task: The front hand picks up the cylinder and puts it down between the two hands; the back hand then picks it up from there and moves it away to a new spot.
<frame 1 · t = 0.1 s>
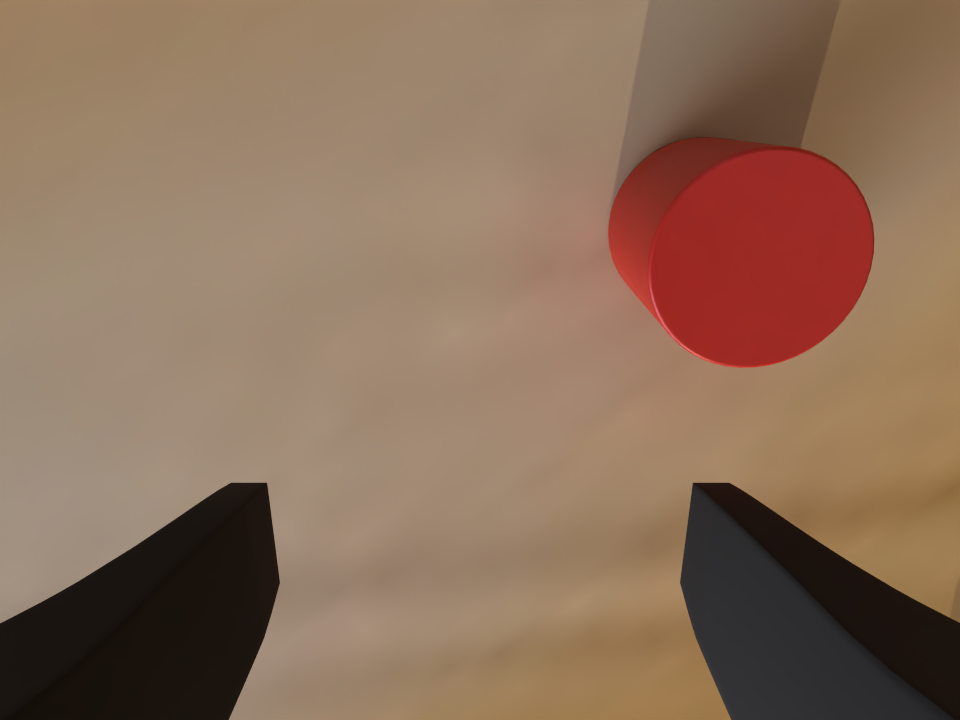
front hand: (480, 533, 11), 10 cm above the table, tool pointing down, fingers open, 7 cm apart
cylinder: (693, 226, 19), on the table
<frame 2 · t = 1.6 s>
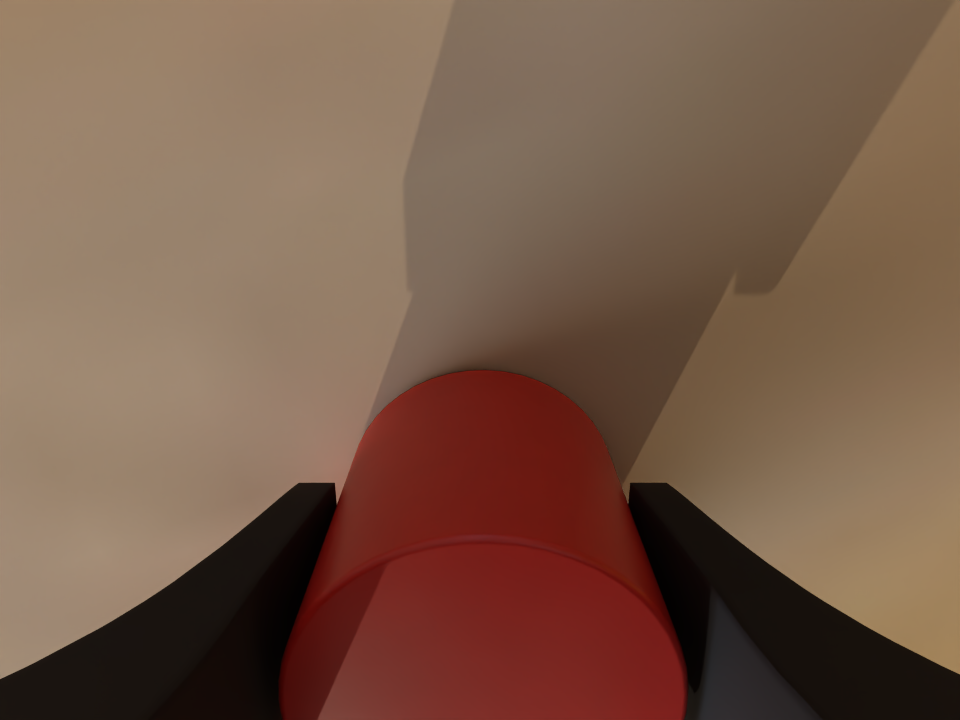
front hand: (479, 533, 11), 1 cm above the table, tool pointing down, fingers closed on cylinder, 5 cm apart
cylinder: (482, 489, 13), on the table, touching front hand
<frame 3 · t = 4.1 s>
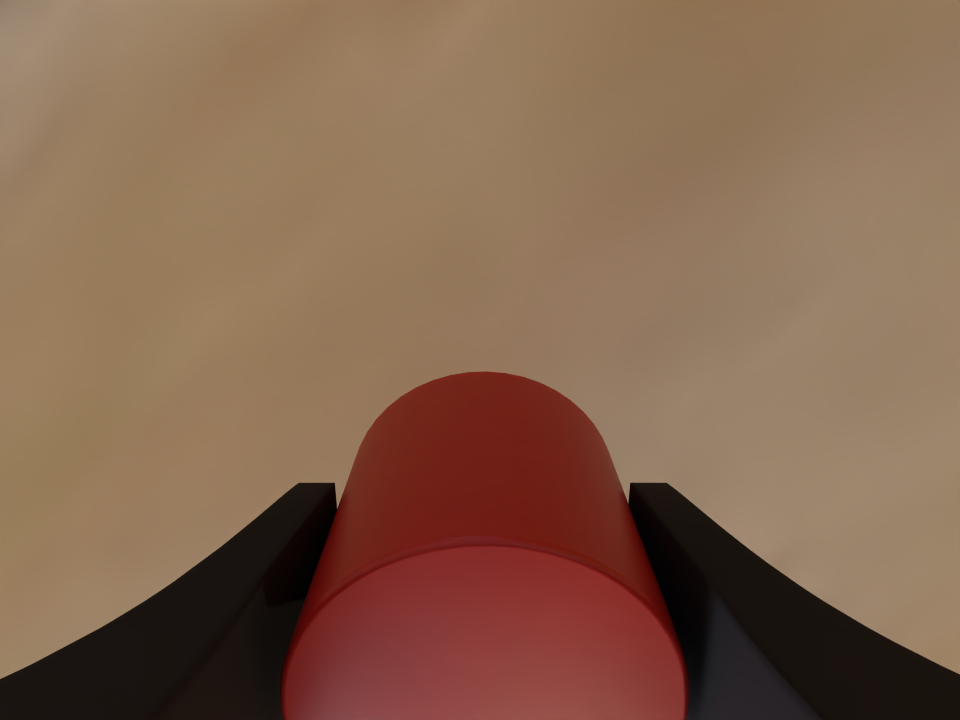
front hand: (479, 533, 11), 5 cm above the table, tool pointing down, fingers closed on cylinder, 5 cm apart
cylinder: (483, 490, 13), point 4 cm above the table, touching front hand
when the front hand's fingers open (2 cm above the table, at t = 6.9 s): cylinder stays where it is, on the table.
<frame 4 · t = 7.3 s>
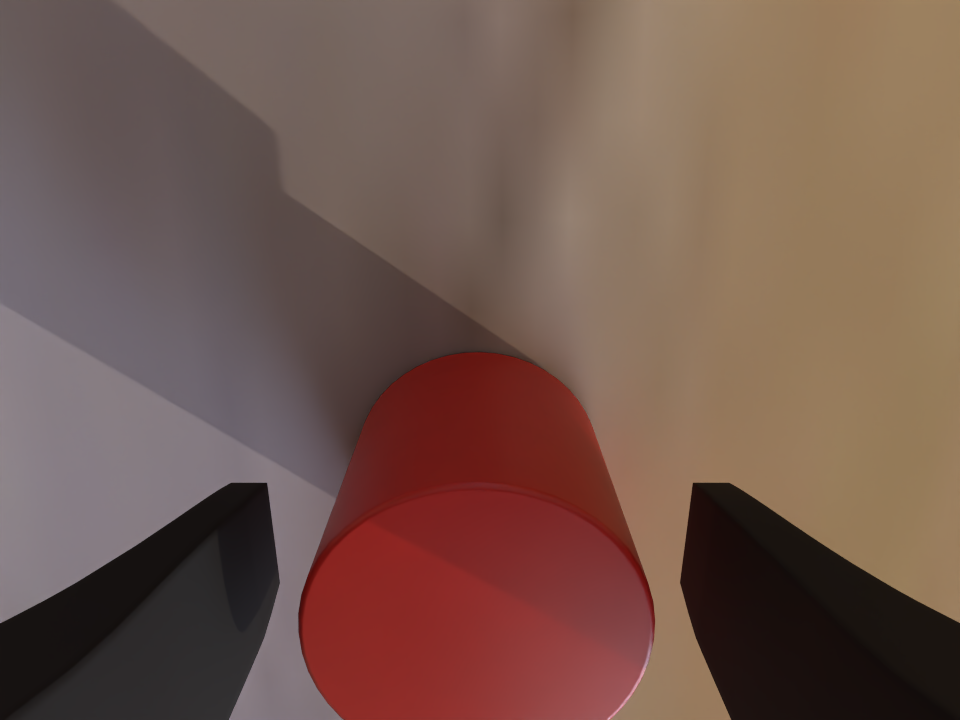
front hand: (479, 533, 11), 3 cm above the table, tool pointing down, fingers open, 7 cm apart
cylinder: (477, 462, 14), on the table
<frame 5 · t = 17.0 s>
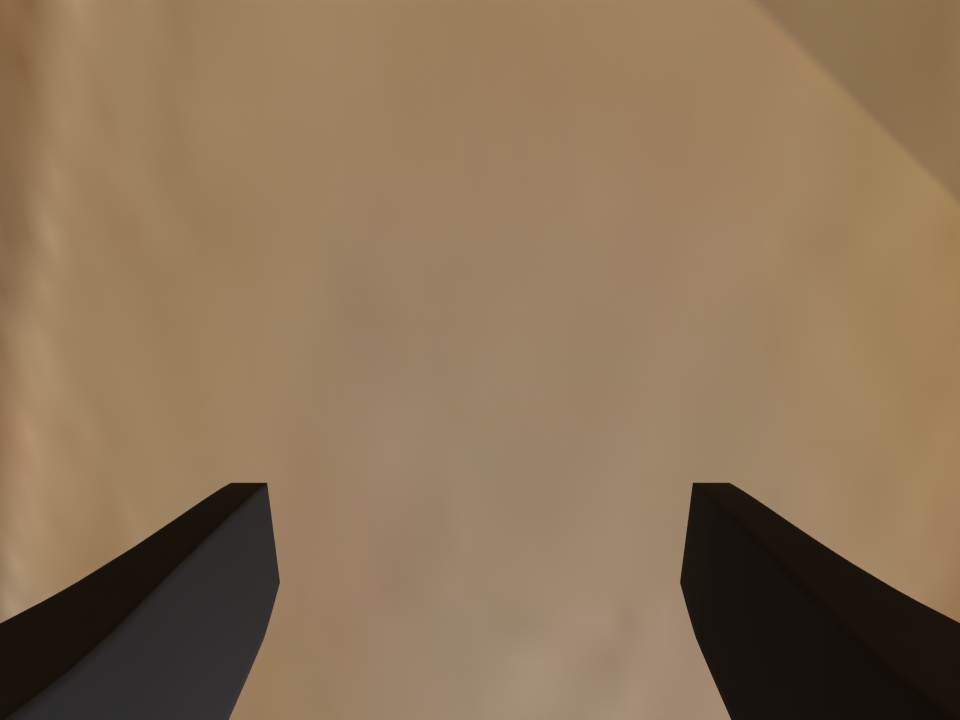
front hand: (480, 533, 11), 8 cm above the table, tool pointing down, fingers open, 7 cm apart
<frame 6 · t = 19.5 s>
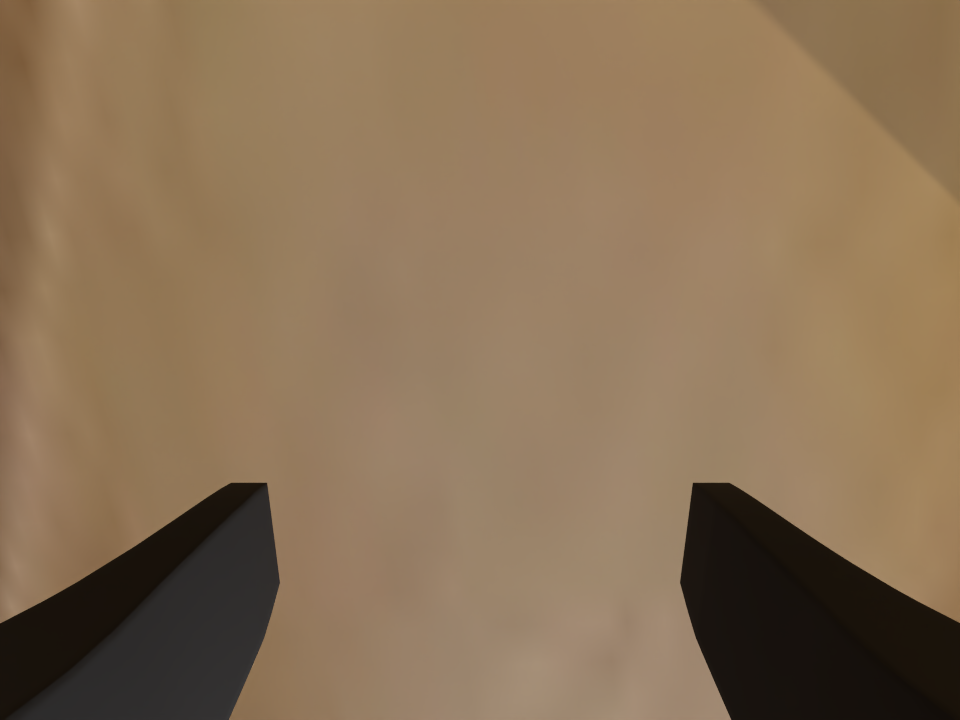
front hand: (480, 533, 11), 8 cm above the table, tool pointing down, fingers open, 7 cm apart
when the back hand's fingers open (1 cm above the table, at t = 21.8 s): cylinder stays where it is, on the table.
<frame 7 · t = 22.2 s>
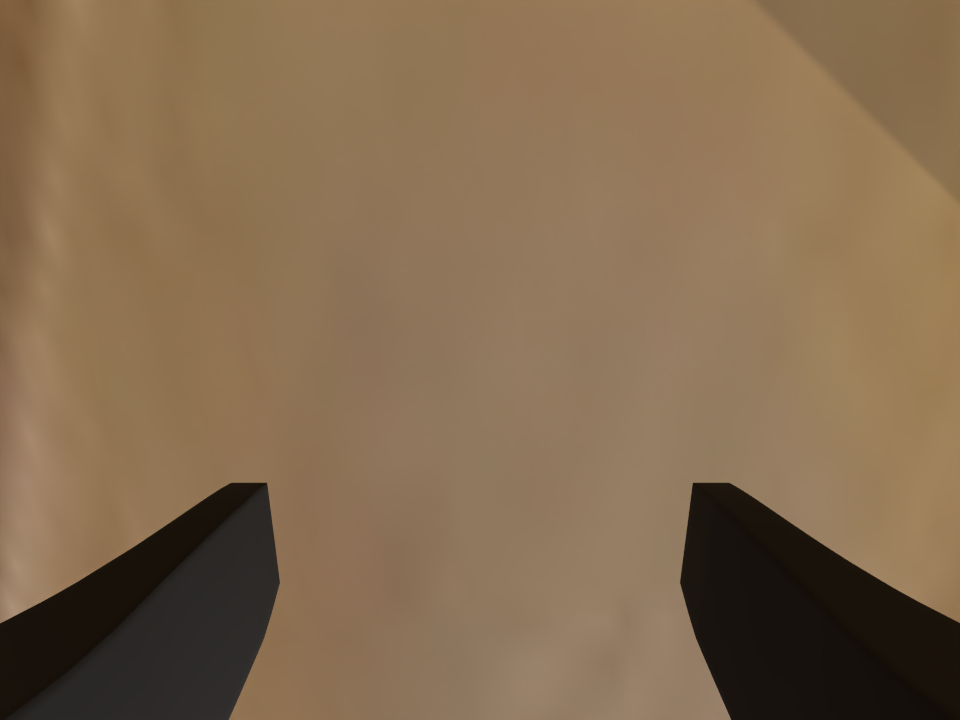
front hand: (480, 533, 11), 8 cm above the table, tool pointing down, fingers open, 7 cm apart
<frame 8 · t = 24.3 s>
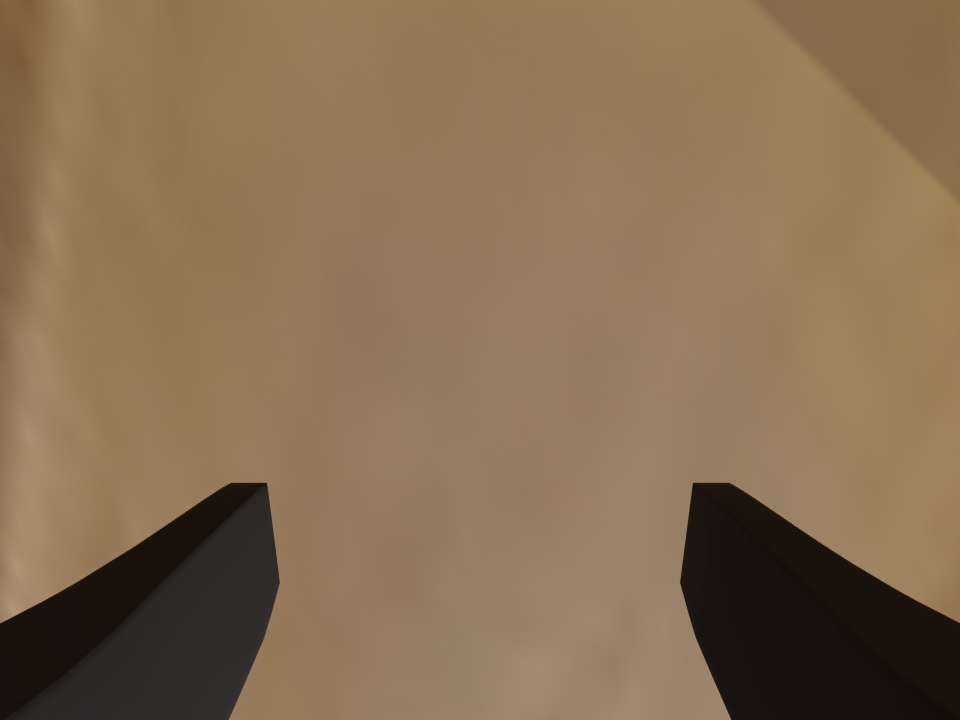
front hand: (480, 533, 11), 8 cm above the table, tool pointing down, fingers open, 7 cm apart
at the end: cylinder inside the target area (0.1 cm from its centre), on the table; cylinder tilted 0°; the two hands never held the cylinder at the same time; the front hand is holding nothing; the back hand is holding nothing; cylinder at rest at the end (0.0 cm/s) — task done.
